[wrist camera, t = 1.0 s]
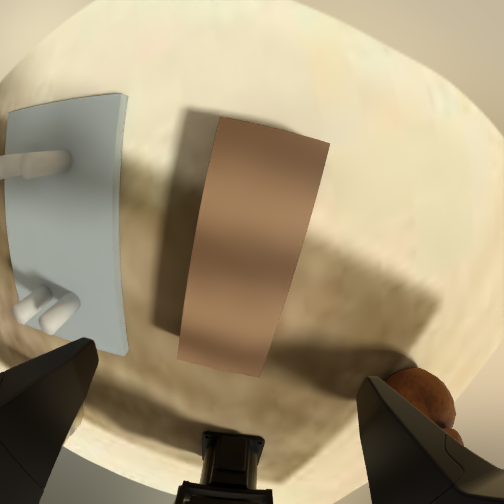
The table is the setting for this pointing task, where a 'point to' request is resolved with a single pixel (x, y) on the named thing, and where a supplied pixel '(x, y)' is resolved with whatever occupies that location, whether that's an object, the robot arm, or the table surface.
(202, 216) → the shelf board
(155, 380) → the table surface
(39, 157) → the peg stand
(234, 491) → the robot arm
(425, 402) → the wooden figurine
